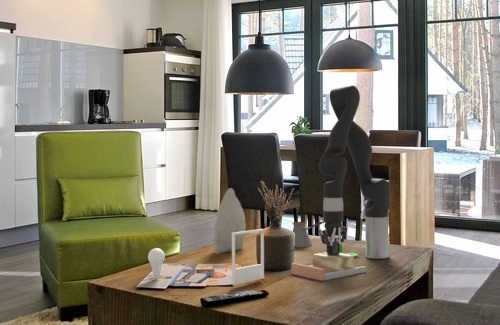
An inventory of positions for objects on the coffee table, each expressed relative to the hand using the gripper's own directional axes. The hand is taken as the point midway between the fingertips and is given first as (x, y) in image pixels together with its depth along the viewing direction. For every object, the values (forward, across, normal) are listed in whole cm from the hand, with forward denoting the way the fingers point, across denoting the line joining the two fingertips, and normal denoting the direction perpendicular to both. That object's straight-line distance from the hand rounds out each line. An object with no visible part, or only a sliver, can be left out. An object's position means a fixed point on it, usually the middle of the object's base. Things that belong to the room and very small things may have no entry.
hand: (333, 254), depth 231 cm
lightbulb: (+7, +56, -35) cm, 67 cm away
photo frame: (+7, +35, -9) cm, 36 cm away
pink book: (+7, +2, 0) cm, 7 cm away
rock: (+7, +8, -55) cm, 56 cm away
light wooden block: (+6, 0, 0) cm, 6 cm away
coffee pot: (+7, -26, -39) cm, 47 cm away
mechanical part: (+7, -24, -15) cm, 29 cm away
